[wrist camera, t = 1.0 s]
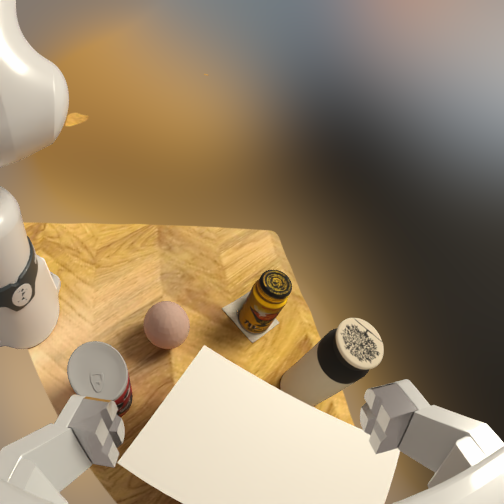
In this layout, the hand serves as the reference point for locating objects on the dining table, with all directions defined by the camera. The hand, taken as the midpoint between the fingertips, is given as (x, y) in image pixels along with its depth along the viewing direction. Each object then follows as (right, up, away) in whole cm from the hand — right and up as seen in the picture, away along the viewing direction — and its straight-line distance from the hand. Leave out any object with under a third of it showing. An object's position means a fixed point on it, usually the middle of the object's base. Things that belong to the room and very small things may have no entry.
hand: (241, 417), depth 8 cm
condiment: (0, -7, +46) cm, 47 cm away
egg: (-14, -9, +38) cm, 41 cm away
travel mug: (+9, -18, +39) cm, 44 cm away
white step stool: (-2, -27, +25) cm, 37 cm away
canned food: (-21, -16, +28) cm, 38 cm away
